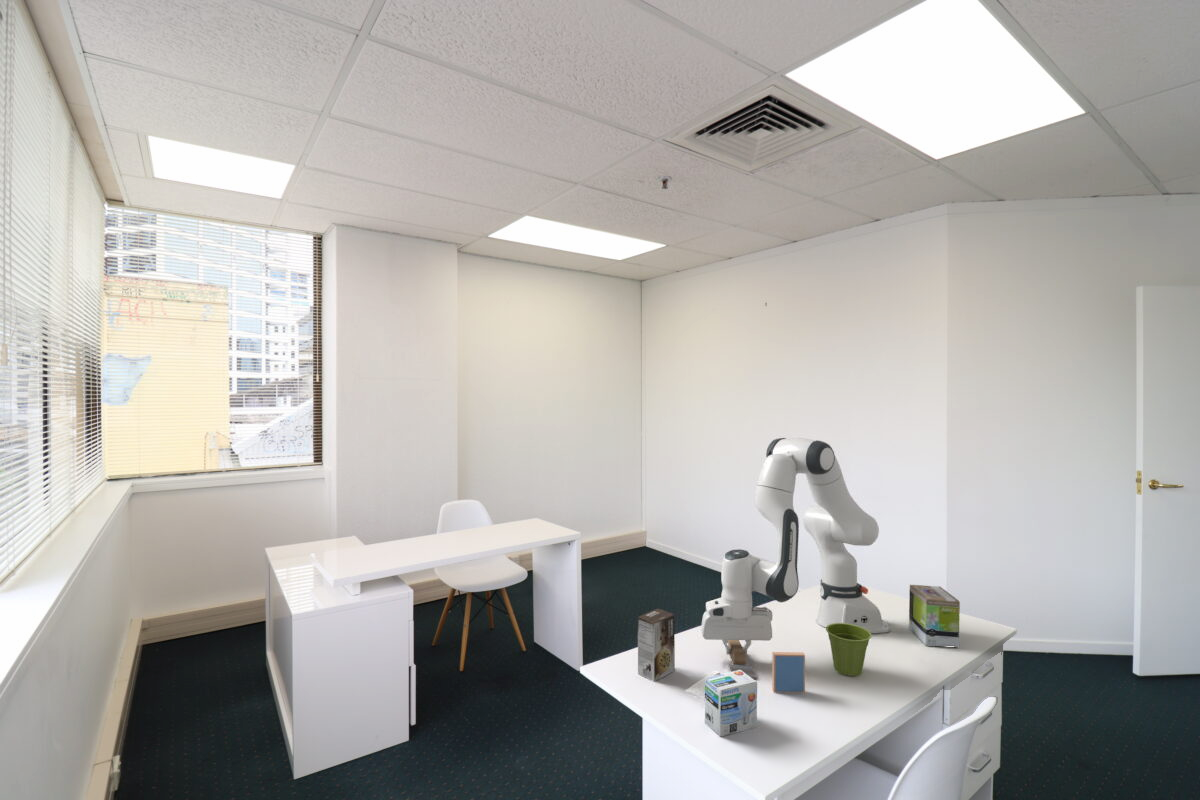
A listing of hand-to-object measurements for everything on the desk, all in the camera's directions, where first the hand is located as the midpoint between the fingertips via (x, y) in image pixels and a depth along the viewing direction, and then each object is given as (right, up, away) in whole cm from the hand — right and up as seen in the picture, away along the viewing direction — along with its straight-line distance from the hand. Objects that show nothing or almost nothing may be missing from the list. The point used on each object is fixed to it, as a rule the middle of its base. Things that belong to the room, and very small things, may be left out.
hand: (736, 653), depth 171 cm
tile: (+9, -2, -18) cm, 21 cm away
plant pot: (+30, -2, -7) cm, 31 cm away
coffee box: (-24, -2, -8) cm, 26 cm away
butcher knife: (-11, -2, -15) cm, 19 cm away
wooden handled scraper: (0, -2, -3) cm, 4 cm away
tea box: (+67, -2, +16) cm, 68 cm away
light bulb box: (-9, -2, -34) cm, 35 cm away
